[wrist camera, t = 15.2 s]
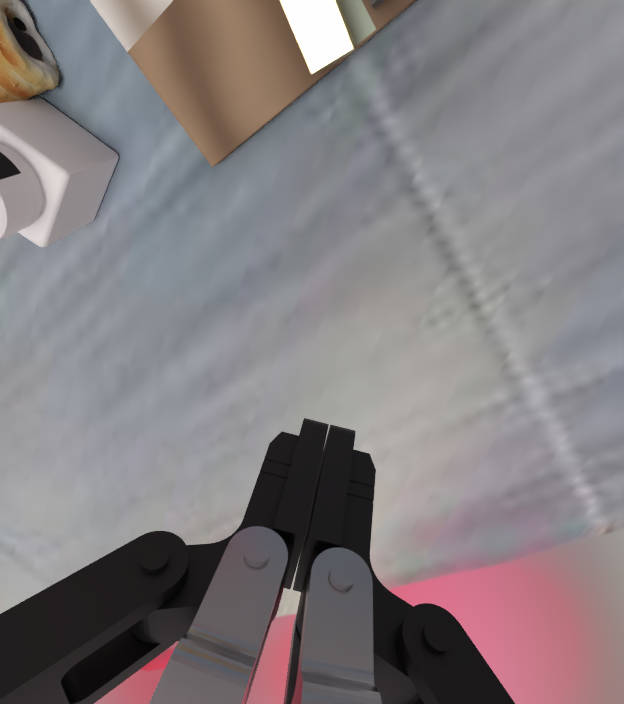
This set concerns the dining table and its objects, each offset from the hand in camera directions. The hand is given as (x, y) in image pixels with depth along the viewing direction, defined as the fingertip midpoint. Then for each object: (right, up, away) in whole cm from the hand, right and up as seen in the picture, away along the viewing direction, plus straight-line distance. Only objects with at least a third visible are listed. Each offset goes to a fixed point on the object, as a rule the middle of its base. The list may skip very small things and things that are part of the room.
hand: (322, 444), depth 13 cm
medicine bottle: (-21, +19, +25) cm, 38 cm away
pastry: (-23, +25, +21) cm, 41 cm away
